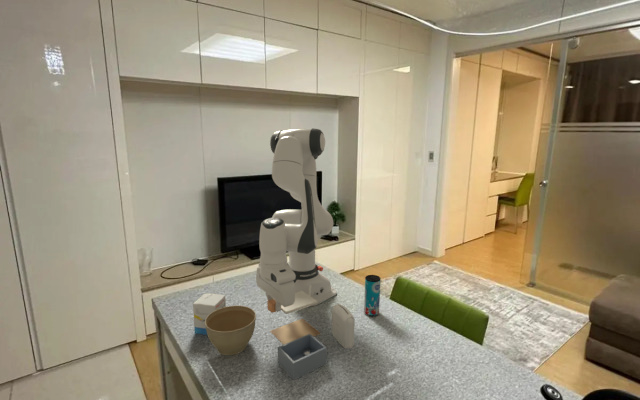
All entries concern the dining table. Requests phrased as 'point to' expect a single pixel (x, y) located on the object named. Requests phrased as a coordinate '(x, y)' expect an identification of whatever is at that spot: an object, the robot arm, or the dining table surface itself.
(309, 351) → the part
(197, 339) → the dining table surface
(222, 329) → the planter bowl
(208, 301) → the ink box
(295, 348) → the tub
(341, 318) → the photo printer
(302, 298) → the lid
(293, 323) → the mat
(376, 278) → the beverage can
